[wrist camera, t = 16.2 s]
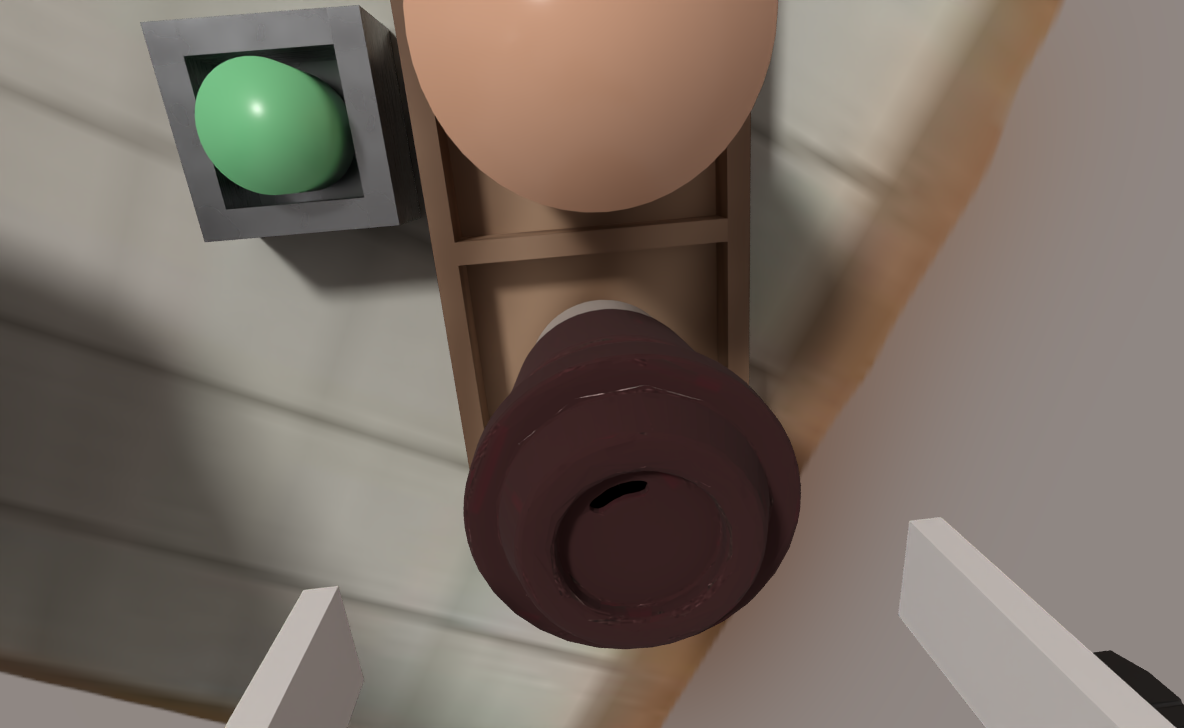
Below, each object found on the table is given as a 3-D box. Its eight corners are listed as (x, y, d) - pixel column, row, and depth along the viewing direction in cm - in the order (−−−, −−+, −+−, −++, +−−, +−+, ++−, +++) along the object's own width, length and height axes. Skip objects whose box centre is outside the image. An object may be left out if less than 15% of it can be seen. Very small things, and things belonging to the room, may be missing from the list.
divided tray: (485, 487, 33) (478, 520, 30) (394, -82, 24) (370, -118, 21) (730, 463, 33) (748, 493, 30) (728, -107, 24) (752, -146, 21)
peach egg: (489, 201, 27) (437, 227, 15) (459, -26, 24) (367, -202, 12) (683, 184, 27) (774, 197, 16) (677, -43, 24) (782, -232, 13)
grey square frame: (253, 231, 28) (204, 242, 24) (203, 44, 25) (139, 22, 21) (421, 217, 28) (399, 225, 24) (388, 29, 25) (358, 5, 22)
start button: (255, 196, 25) (216, 200, 22) (223, 74, 24) (177, 61, 21) (366, 186, 25) (342, 189, 22) (342, 64, 24) (312, 50, 21)
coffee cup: (676, 464, 32) (772, 707, 17) (494, 442, 31) (438, 680, 16) (718, 286, 29) (875, 404, 14) (516, 255, 28) (472, 349, 13)
